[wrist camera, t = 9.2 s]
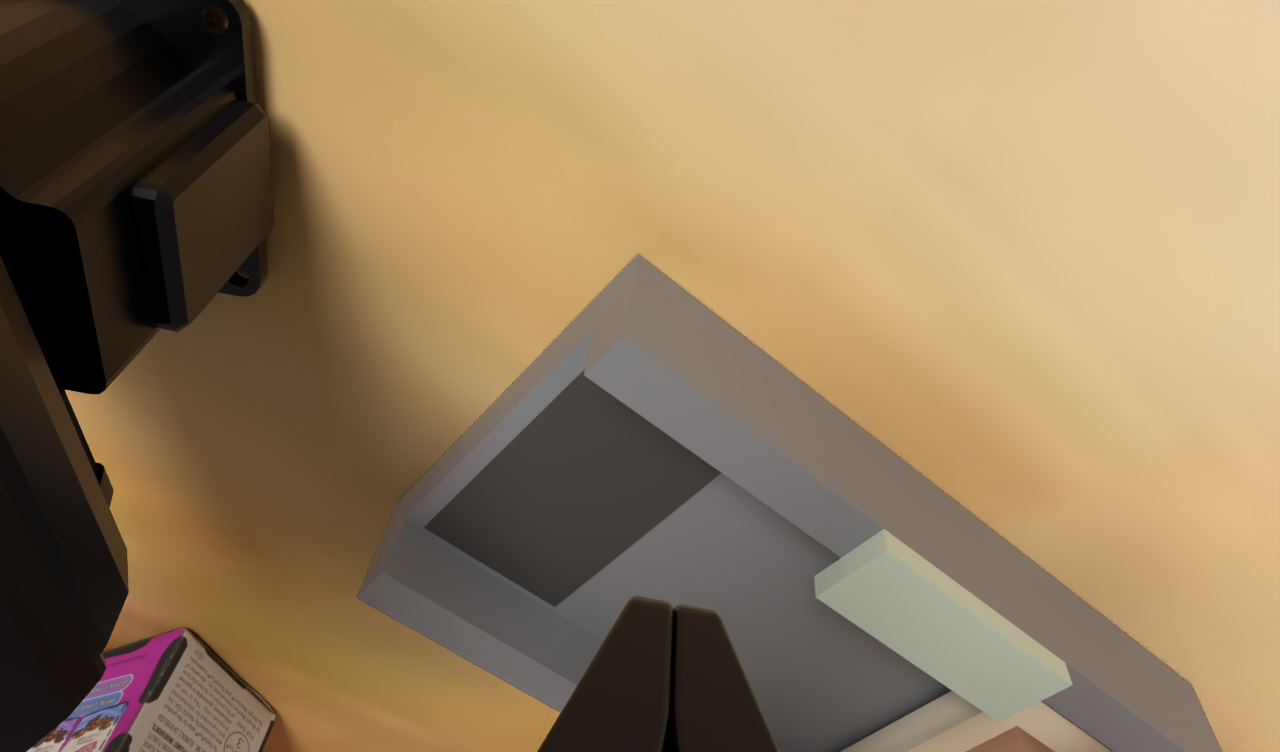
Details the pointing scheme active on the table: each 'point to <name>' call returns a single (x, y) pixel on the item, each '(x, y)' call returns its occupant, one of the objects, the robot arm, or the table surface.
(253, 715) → the candy bar box
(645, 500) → the track
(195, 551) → the table surface
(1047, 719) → the salmon pink rectangular block
